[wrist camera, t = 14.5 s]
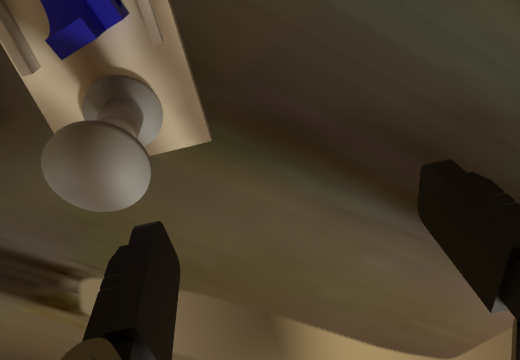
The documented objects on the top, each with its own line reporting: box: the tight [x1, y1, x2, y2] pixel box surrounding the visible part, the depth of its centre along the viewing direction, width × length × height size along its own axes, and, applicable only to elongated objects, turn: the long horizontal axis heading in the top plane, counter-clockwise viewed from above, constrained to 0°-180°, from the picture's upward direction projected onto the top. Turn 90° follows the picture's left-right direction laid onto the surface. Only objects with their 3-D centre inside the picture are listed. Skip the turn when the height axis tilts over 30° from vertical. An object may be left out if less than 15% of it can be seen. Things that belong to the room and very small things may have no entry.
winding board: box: [0, 0, 211, 212], centre depth 25 cm, size 14×27×12 cm, turn 11°
